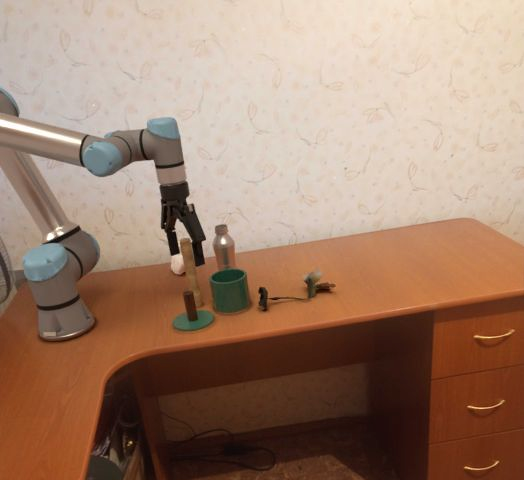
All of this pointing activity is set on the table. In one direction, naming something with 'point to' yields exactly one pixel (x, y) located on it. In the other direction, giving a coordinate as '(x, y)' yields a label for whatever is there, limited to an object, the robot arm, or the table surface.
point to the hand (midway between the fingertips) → (187, 259)
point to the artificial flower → (310, 281)
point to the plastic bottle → (224, 248)
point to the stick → (190, 269)
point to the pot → (230, 290)
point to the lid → (192, 315)
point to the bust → (178, 263)
